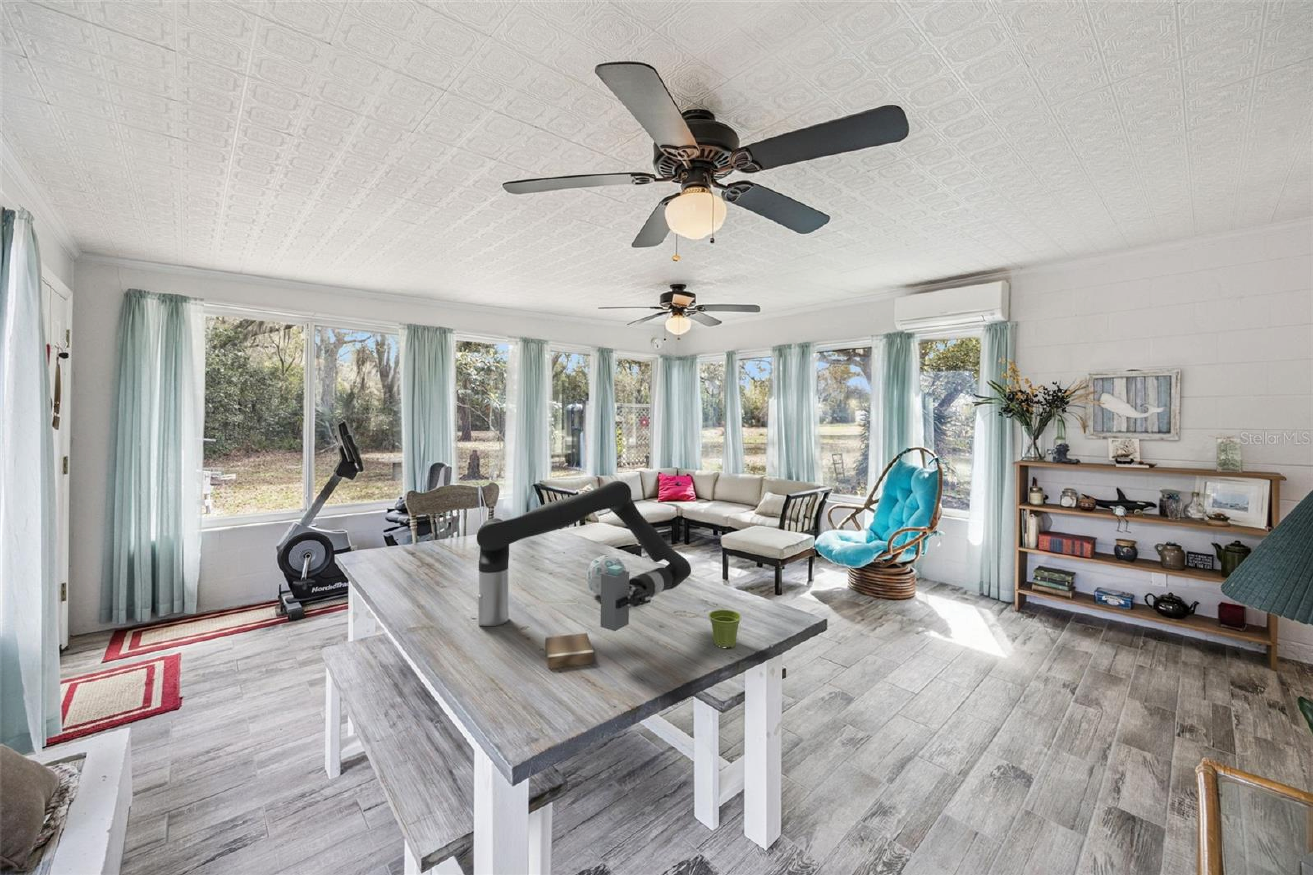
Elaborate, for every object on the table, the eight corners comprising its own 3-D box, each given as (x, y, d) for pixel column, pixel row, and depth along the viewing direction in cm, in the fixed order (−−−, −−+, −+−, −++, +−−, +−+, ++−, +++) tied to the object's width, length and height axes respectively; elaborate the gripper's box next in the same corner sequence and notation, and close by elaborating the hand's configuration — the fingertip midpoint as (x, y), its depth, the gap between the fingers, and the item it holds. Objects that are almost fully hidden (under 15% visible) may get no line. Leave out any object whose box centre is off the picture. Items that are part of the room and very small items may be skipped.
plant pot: (733, 654, 144) (733, 624, 144) (703, 646, 149) (703, 617, 149) (745, 642, 152) (746, 613, 152) (717, 635, 157) (717, 607, 157)
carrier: (614, 619, 143) (615, 568, 143) (628, 624, 140) (629, 571, 140) (600, 626, 138) (601, 573, 138) (614, 631, 135) (615, 577, 135)
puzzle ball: (579, 599, 188) (579, 558, 188) (598, 586, 202) (598, 549, 202) (616, 604, 183) (616, 563, 182) (633, 591, 197) (633, 553, 196)
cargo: (614, 575, 141) (614, 565, 141) (623, 577, 139) (623, 566, 139) (607, 578, 138) (607, 567, 138) (616, 580, 137) (616, 569, 137)
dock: (548, 668, 135) (548, 657, 135) (545, 647, 148) (545, 636, 148) (593, 663, 138) (593, 651, 138) (586, 643, 151) (586, 632, 151)
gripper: (626, 569, 155) (588, 583, 141) (666, 578, 147) (630, 594, 133) (626, 593, 155) (588, 610, 141) (665, 603, 147) (629, 622, 133)
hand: (608, 602), depth 137 cm, fingers closed on carrier, 5 cm apart
